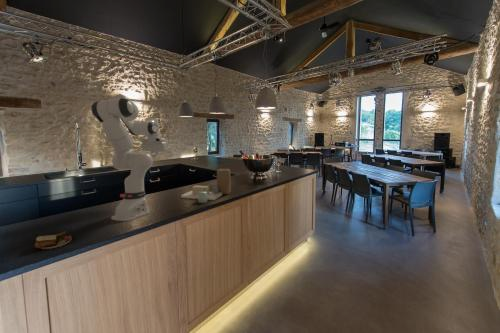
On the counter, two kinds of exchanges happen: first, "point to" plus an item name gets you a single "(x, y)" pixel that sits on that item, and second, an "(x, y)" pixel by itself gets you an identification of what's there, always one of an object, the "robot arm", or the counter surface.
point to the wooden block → (224, 180)
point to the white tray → (193, 196)
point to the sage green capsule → (202, 196)
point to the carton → (199, 189)
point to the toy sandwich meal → (52, 241)
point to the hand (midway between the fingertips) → (154, 157)
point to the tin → (215, 190)
